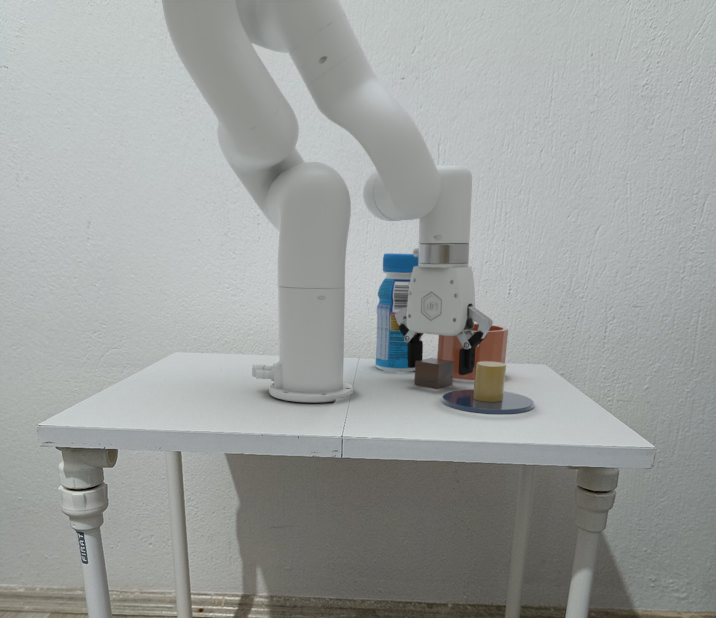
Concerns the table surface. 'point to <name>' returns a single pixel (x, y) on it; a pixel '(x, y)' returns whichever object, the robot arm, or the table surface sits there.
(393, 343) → the beverage bottle
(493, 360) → the tin
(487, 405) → the cover
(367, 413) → the table surface
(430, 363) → the block
